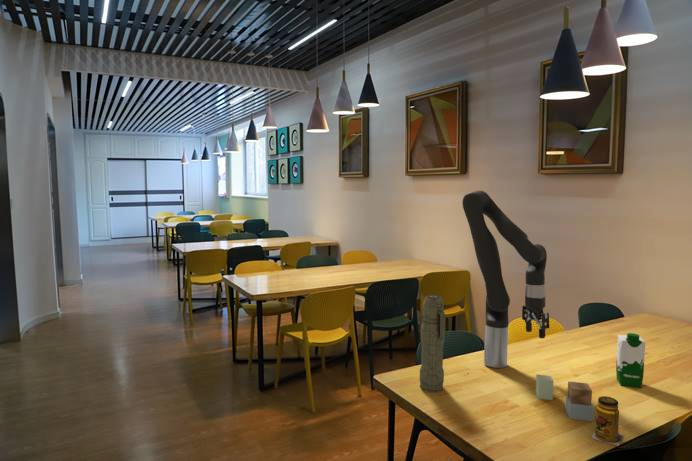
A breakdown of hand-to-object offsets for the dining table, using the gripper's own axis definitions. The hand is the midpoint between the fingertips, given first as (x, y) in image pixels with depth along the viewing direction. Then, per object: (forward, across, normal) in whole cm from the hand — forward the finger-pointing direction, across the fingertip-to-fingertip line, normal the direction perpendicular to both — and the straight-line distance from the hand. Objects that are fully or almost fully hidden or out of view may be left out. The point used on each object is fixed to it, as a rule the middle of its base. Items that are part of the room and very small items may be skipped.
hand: (535, 334), depth 184 cm
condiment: (+17, +46, -7) cm, 49 cm away
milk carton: (+19, +14, +31) cm, 39 cm away
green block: (+17, +17, -8) cm, 25 cm away
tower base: (+17, +32, -6) cm, 37 cm away
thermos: (+15, +2, -45) cm, 48 cm away
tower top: (+12, +32, -6) cm, 34 cm away
